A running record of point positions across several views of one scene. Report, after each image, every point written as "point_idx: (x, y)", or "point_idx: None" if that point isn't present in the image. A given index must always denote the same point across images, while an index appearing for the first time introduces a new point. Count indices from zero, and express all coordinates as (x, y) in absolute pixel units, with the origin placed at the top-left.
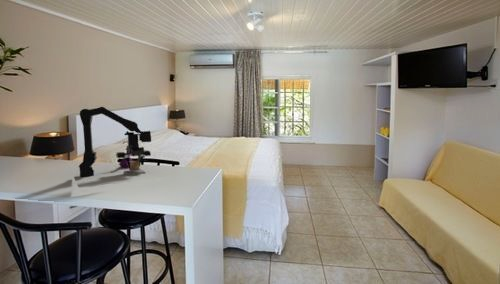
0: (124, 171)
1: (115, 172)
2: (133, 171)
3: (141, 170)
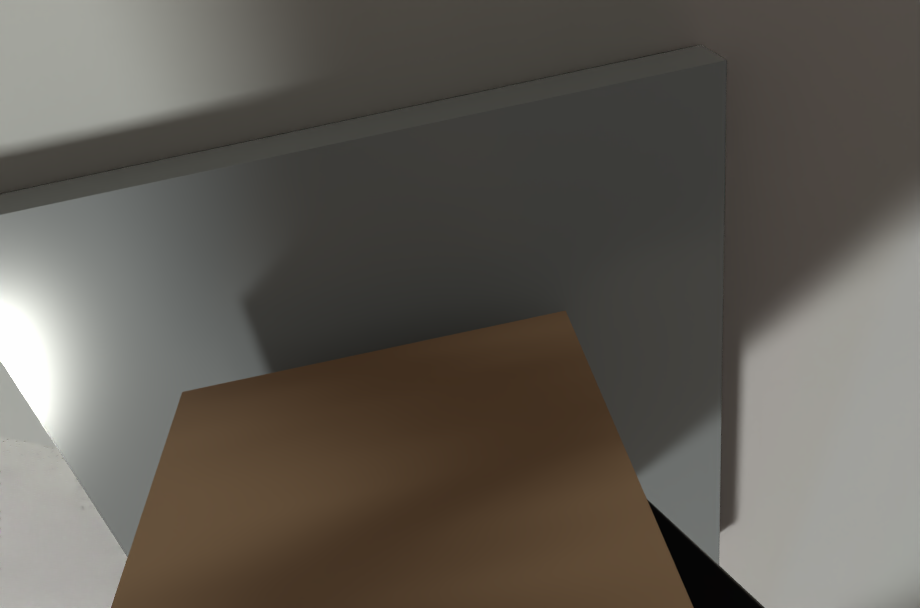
0: (717, 518)
1: (889, 585)
2: None
3: None
